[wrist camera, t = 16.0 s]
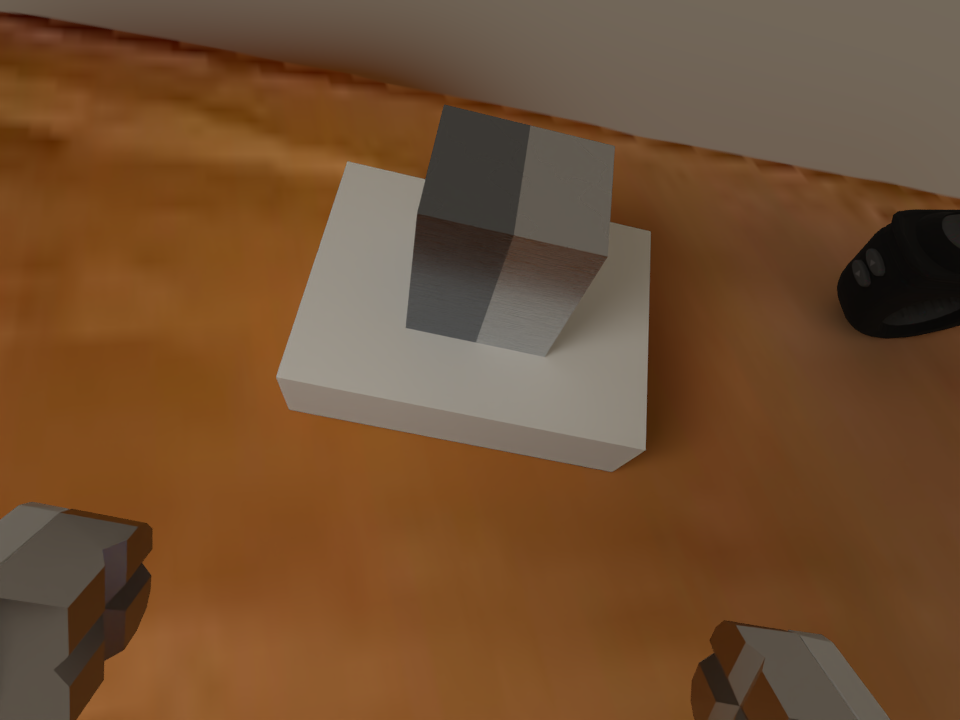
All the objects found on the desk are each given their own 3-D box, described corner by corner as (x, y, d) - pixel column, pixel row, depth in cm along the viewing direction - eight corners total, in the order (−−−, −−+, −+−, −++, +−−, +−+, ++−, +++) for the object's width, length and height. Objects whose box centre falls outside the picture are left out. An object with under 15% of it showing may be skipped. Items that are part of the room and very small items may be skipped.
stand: (289, 409, 28) (276, 376, 24) (350, 212, 33) (347, 161, 29) (611, 471, 29) (645, 450, 25) (621, 272, 34) (650, 231, 30)
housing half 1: (475, 342, 26) (513, 235, 19) (491, 252, 28) (530, 125, 21) (544, 356, 26) (607, 256, 19) (554, 266, 29) (614, 145, 21)
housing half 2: (405, 327, 26) (417, 213, 19) (426, 238, 28) (444, 104, 21) (475, 342, 26) (513, 235, 19) (491, 252, 28) (530, 125, 21)
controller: (786, 286, 36) (923, 173, 27) (954, 290, 38) (1133, 186, 29) (807, 350, 34) (962, 251, 25) (982, 349, 36) (1182, 258, 27)
